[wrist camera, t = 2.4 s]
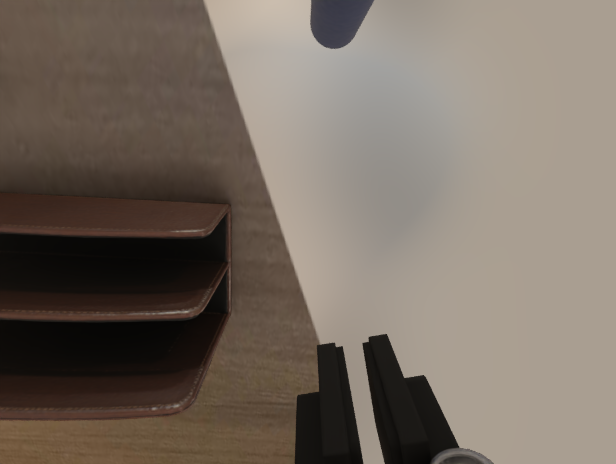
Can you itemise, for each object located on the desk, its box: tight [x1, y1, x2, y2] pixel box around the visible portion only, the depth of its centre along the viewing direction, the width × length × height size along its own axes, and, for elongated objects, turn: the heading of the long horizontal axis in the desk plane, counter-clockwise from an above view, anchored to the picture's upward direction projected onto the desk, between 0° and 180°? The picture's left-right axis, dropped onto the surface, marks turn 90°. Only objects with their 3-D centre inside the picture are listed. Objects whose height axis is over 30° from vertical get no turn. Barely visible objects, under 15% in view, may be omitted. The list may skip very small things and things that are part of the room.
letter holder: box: [0, 193, 232, 421], centre depth 25 cm, size 10×20×14 cm, turn 87°
